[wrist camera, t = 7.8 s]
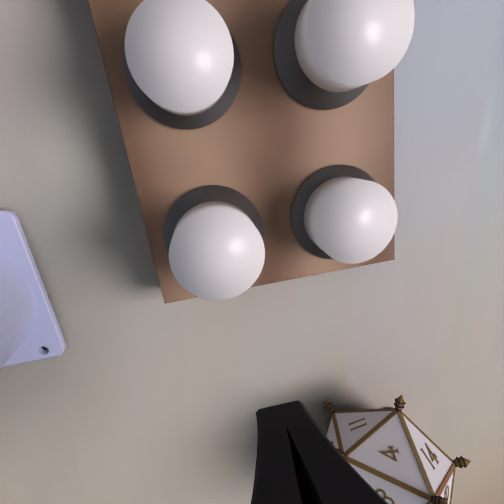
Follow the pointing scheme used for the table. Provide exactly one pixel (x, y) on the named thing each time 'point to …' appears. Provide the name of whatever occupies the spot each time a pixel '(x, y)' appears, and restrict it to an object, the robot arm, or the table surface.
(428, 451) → the game die
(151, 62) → the button
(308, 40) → the button
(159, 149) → the button board
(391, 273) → the table surface
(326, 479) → the robot arm
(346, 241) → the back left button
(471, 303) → the table surface
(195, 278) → the button
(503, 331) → the table surface
